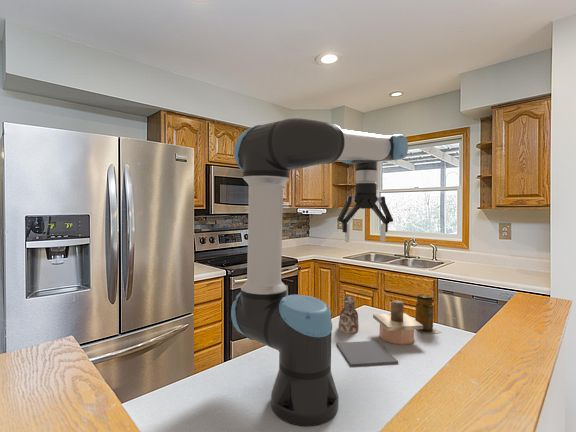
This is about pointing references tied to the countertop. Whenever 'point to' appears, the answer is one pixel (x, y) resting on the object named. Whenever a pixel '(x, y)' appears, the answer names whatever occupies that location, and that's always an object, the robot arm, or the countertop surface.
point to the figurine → (348, 316)
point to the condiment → (425, 314)
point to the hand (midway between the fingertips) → (364, 241)
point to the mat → (366, 353)
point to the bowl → (397, 336)
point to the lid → (397, 318)
